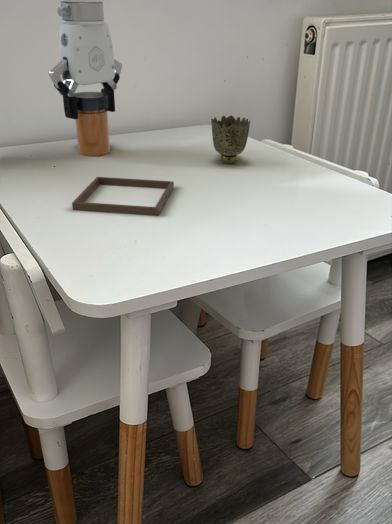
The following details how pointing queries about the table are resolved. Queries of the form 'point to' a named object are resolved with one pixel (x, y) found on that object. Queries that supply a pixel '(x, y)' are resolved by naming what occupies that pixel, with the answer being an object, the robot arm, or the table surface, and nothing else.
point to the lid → (91, 101)
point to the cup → (230, 137)
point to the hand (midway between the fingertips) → (90, 114)
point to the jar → (92, 133)
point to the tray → (125, 209)
